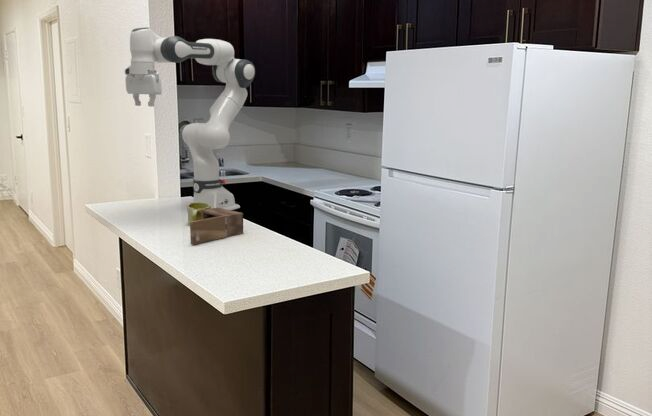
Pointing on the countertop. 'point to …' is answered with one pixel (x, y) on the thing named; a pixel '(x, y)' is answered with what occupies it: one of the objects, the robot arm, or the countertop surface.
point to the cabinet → (233, 219)
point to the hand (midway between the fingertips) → (144, 106)
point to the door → (208, 229)
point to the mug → (196, 211)
